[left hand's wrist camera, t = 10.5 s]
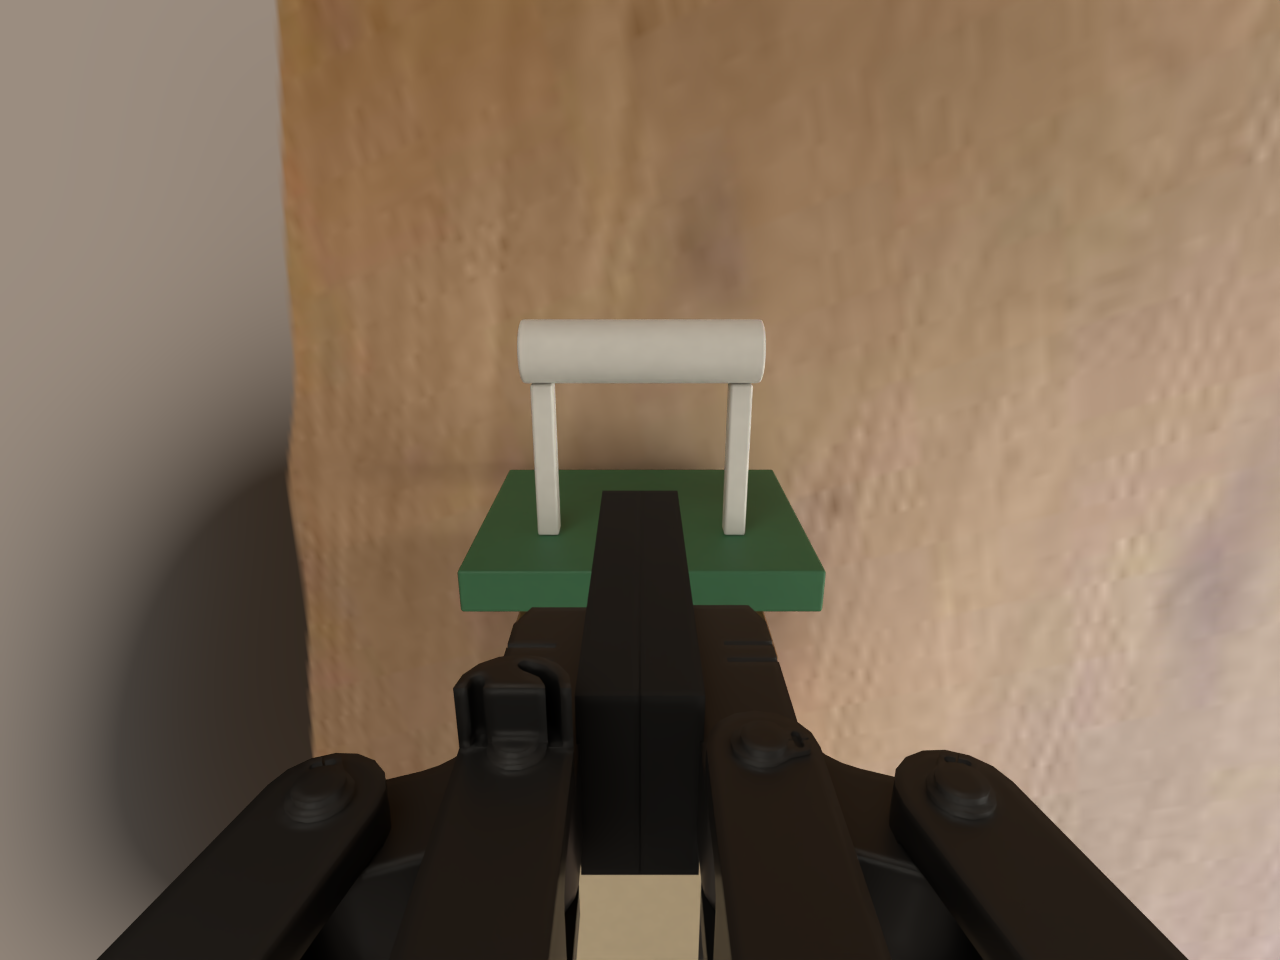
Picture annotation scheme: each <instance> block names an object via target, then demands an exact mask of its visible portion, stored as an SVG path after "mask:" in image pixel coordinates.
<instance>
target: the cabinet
mask: <svg viewBox="0 0 1280 960" xmlns="http://www.w3.org/2000/svg"><path fill="white" fill-rule="evenodd" d="M579 899H580V923H579V935H578V947H577V959H576V960H698V950H699V924H700V899H701V874H700V863H699V875H581V867H580V878H579Z"/></svg>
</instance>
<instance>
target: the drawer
mask: <svg viewBox="0 0 1280 960" xmlns="http://www.w3.org/2000/svg"><path fill="white" fill-rule="evenodd" d="M517 355H518V367H519V373H520V377H521V380H522V382H524V383H532V384H531V387H530V391H531V410H532V429H533V448H534V466H535V470H510V471H509V473H508V475H507V477H506V479H505V481H504V483H503V485H502V487H501V489H500V491H499V493H498V494H497V496H496V498H495V500H494V502H493V504H492V506H491V508H490V510H489V512H488V514H487V516H486V518H485V520H484V522H483V524H482V526H481V528H480V530H479V532H478V534H477V535H476V537H475V539H474V541H473V543H472V545H471V547H470V549H469V551H468V553H467V555H466V557H465V559H464V561H463V563H462V565H461V567H460V569H459V571H458V582H459V592H460V603H461V610H462V611H520V612H519V615H518V618H517V621H518V620H519V619H520V618H521V617H522V616H523V615H524V614H525V613H526V612H527V611H528V610H529V609H530V608H532V607H587V600H588V593H589V586H590V578H591V571H592V564H593V556H594V549H595V542H596V534H597V527H598V520H599V512H600V505H601V498H602V491H678V498H679V505H680V512H681V520H682V527H683V534H684V542H685V549H686V556H687V564H688V571H689V578H690V586H691V593H692V600H693V605H749V606H750V607H751V608H752V609H753V610H754V611H755V612H756V613H757V614H758V615H760V616H761V617H762V618H763V619H764V620H765V621H766V618H765V615H764V611H821V610H822V605H823V594H824V584H825V574H826V572H825V570H824V568H823V566H822V564H821V562H820V560H819V559H818V557H817V555H816V553H815V551H814V549H813V547H812V545H811V543H810V541H809V539H808V537H807V536H806V534H805V532H804V530H803V528H802V526H801V524H800V522H799V520H798V518H797V516H796V514H795V513H794V511H793V509H792V507H791V505H790V503H789V501H788V499H787V497H786V495H785V493H784V491H783V489H782V488H781V486H780V484H779V482H778V480H777V478H776V476H775V474H774V472H773V470H748V466H749V447H750V429H751V410H752V391H753V386H752V384H751V383H759V382H761V380H762V377H763V373H764V368H765V357H766V336H765V328H764V324H763V321H762V320H760V319H523V320H521V321H520V324H519V328H518V338H517ZM555 383H728V399H727V423H726V447H725V470H558V449H557V425H556V401H555ZM766 622H767V621H766ZM767 626H768V624H767ZM768 629H769V627H768ZM769 632H770V631H769ZM770 635H771V634H770ZM771 639H772V637H771ZM772 645H774V643H773V640H772ZM774 648H775V647H774ZM775 651H776V650H775ZM776 655H777V653H776ZM777 660H778V656H777Z"/></svg>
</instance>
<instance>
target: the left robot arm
mask: <svg viewBox="0 0 1280 960" xmlns="http://www.w3.org/2000/svg"><path fill="white" fill-rule="evenodd" d="M453 691H454V701H455V710H456V720H457V729H458V738H459V751H458V754H457V756H456V757H455V758H453V759H451V760H449V761H447V762H445V763H443V764H441V765H439V766H436V767H433V768H430V769H427V770H424V771H421V772H417V773H413V774H408V775H404V776H400V777H396V778H392V779H387V780H386V778H385V772H384V771H383V770H382V769H381V767H380V766H379V765H378V764H377V763H376V761H375V760H372V759H370V758H367V757H365V756H362V755H360V754H350V753H334V754H329V755H325V756H320V757H316V758H311V759H309V760H307V761H305V762H303V763H301V764H299V765H296V766H294V767H292V768H290V769H288V770H286V771H285V772H284V773H283V774H281V775H280V776H279V777H277V778H276V779H275V780H274V781H272V782H271V783H270V784H269V785H267V786H266V787H265V788H264V789H263V790H262V791H261V793H260V794H259V795H258V796H257V797H256V798H255V799H254V800H253V801H252V802H251V803H250V804H249V805H248V806H247V807H246V808H245V809H244V810H243V811H242V812H241V813H240V814H239V815H238V816H237V817H236V818H235V819H234V820H233V821H232V822H231V823H230V824H229V825H228V826H227V827H226V828H225V829H224V830H223V831H222V832H221V833H220V834H219V835H218V836H217V837H216V838H215V839H214V840H213V841H212V843H211V844H210V845H209V846H208V847H207V848H206V849H205V850H204V851H203V852H202V853H201V854H200V855H199V856H198V857H197V858H196V859H195V860H194V861H193V862H192V863H191V864H190V865H189V866H188V867H187V868H186V869H185V870H184V871H183V872H182V873H181V874H180V875H179V876H178V877H177V878H176V879H175V880H174V881H173V882H172V883H171V884H170V885H169V886H168V887H167V888H166V889H165V890H164V891H163V893H162V894H161V895H160V896H159V897H158V898H157V899H156V900H155V901H154V902H153V903H152V904H151V905H150V906H149V907H148V908H147V909H146V910H145V911H144V912H143V913H142V914H141V915H140V916H139V917H138V918H137V919H136V920H135V921H134V922H133V923H132V924H131V925H130V926H129V927H128V928H127V929H126V930H125V931H124V932H123V933H122V934H121V935H120V936H119V937H118V938H117V940H116V941H115V942H114V943H113V944H112V945H111V946H110V947H109V948H108V949H107V950H106V951H105V952H104V953H103V954H102V955H101V956H100V957H99V958H98V959H97V960H576V959H577V947H578V935H579V923H580V899H579V878H580V867H581V875H699V863H700V874H701V899H700V924H699V950H698V960H1188V959H1187V958H1186V957H1185V956H1184V955H1183V954H1182V953H1181V952H1180V951H1179V950H1178V949H1177V948H1176V947H1175V946H1174V945H1173V944H1172V943H1171V942H1170V941H1169V940H1168V938H1167V937H1166V936H1165V935H1164V934H1163V933H1162V932H1161V931H1160V930H1159V929H1158V928H1157V927H1156V926H1155V925H1154V924H1153V923H1152V922H1151V921H1150V920H1149V919H1148V918H1147V917H1146V916H1145V915H1144V914H1143V913H1142V912H1141V911H1140V910H1139V909H1138V908H1137V907H1136V906H1135V905H1134V904H1133V903H1132V902H1131V901H1130V900H1129V899H1128V898H1127V897H1126V896H1125V895H1124V894H1123V893H1122V892H1121V891H1120V890H1119V889H1118V888H1117V887H1116V886H1115V885H1114V884H1113V883H1112V882H1111V881H1110V880H1109V879H1108V878H1107V877H1106V876H1105V875H1104V874H1103V873H1102V872H1101V871H1100V870H1099V869H1098V868H1097V867H1096V866H1095V865H1094V863H1093V862H1092V861H1091V860H1090V859H1089V858H1088V857H1087V856H1086V855H1085V854H1084V853H1083V852H1082V851H1081V850H1080V849H1079V848H1078V847H1077V846H1076V845H1075V844H1074V843H1073V842H1072V841H1071V840H1070V839H1069V838H1068V837H1067V836H1066V835H1065V834H1064V833H1063V832H1062V831H1061V830H1060V829H1059V828H1058V827H1057V826H1056V825H1055V824H1054V823H1053V822H1052V821H1051V820H1050V819H1049V818H1048V817H1047V816H1046V815H1045V814H1044V813H1043V812H1042V811H1041V810H1040V809H1039V808H1038V807H1037V806H1036V805H1035V804H1034V803H1033V802H1032V801H1031V800H1030V799H1029V798H1028V797H1027V796H1026V795H1025V794H1024V793H1023V792H1022V791H1021V790H1020V788H1019V787H1018V786H1017V785H1016V784H1015V783H1014V782H1013V781H1011V780H1010V779H1009V778H1007V777H1006V776H1005V775H1003V774H1002V773H1001V772H1000V771H998V770H997V769H996V768H994V767H993V766H991V765H989V764H987V763H985V762H983V761H980V760H978V759H976V758H974V757H972V756H970V755H965V754H961V753H956V752H952V751H947V750H927V751H921V752H918V753H915V754H913V755H910V756H908V757H906V758H905V759H904V760H903V761H902V762H901V764H900V765H899V766H898V767H897V769H896V772H895V777H893V776H889V775H884V774H880V773H876V772H872V771H867V770H863V769H859V768H856V767H853V766H850V765H847V764H844V763H841V762H839V761H837V760H835V759H833V758H831V757H829V756H827V755H825V754H824V753H823V752H822V750H821V747H820V746H819V744H818V742H817V741H816V739H815V738H814V736H813V734H812V733H811V732H810V731H809V730H807V729H806V728H805V727H803V726H802V725H801V724H799V723H798V722H797V719H796V716H795V713H794V709H793V706H792V703H791V700H790V696H789V693H788V690H787V687H786V684H785V680H784V677H783V674H782V671H781V667H780V664H779V662H778V660H777V655H776V651H775V648H774V645H772V639H771V635H770V632H769V629H768V626H767V622H766V621H765V620H764V619H763V618H762V617H761V616H760V615H758V614H757V613H756V612H755V611H754V610H753V609H752V608H751V607H750V606H749V605H693V600H692V593H691V586H690V578H689V571H688V564H687V556H686V549H685V542H684V534H683V527H682V520H681V512H680V505H679V498H678V491H602V498H601V505H600V512H599V520H598V527H597V534H596V542H595V549H594V556H593V564H592V571H591V578H590V586H589V593H588V600H587V607H532V608H530V609H529V610H528V611H527V612H526V613H525V614H524V615H523V616H522V617H521V618H520V619H519V620H518V621H517V622H516V623H515V624H514V625H513V628H512V632H511V635H510V638H509V641H508V648H506V651H505V654H504V656H503V657H498V658H495V659H492V660H489V661H486V662H483V663H480V664H478V665H477V666H475V667H474V668H472V669H471V670H469V671H468V672H466V673H465V674H463V675H462V677H461V678H460V679H459V681H458V682H457V684H456V685H455V686H454V688H453Z"/></svg>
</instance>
